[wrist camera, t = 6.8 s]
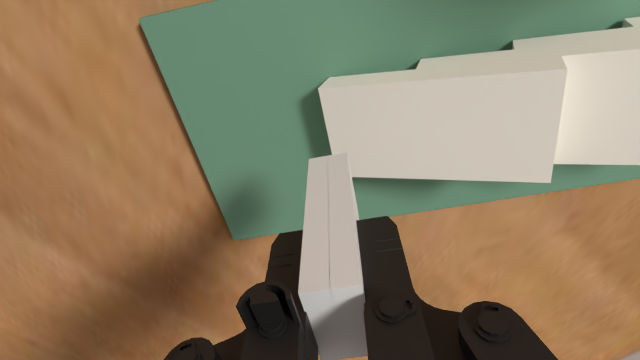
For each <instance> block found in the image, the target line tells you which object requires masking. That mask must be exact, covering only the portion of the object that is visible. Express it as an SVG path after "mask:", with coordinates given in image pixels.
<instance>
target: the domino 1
mask: <svg viewBox="0 0 640 360" xmlns="http://www.w3.org/2000/svg"><path fill="white" fill-rule="evenodd" d="M567 70H568V69H567V66H566V64H565V62H564V60H563V58H562V56H556V57H545V58H534V59H523V60H512V61H501V62H490V63H479V64H468V65H457V66H446V67H436V68H425V69H414V70H403V71H392V72H381V73H370V74H359V75H348V76H337V77H329V78H328V79H327V80H326V81H325V82H324V83H323V84H322V85H321V86H320V87H319V88H318V91H319V96H320V100H321V105H322V110H323V115H324V119H325V124H326V129H327V133H328V138H329V143H330V148H331V152H332V155H334V154H340V153H345V152H347V154H348V160H349V165H350V170H351V176H352V177H370V178H403V179H436V180H469V181H501V182H534V183H551V178H552V171H553V164H554V157H555V151H556V144H557V137H558V131H559V124H560V117H561V110H562V104H563V97H564V90H565V83H566V77H567Z"/></svg>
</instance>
